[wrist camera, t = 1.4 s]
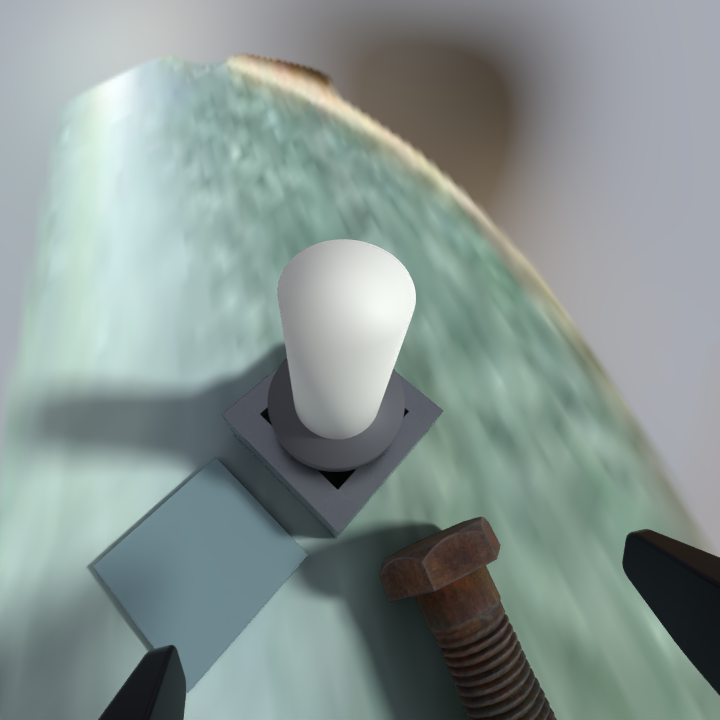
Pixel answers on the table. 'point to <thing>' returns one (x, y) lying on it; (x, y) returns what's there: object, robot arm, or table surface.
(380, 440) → the pin
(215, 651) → the mat
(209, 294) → the table surface
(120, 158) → the table surface
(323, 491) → the block
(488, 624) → the bolt
